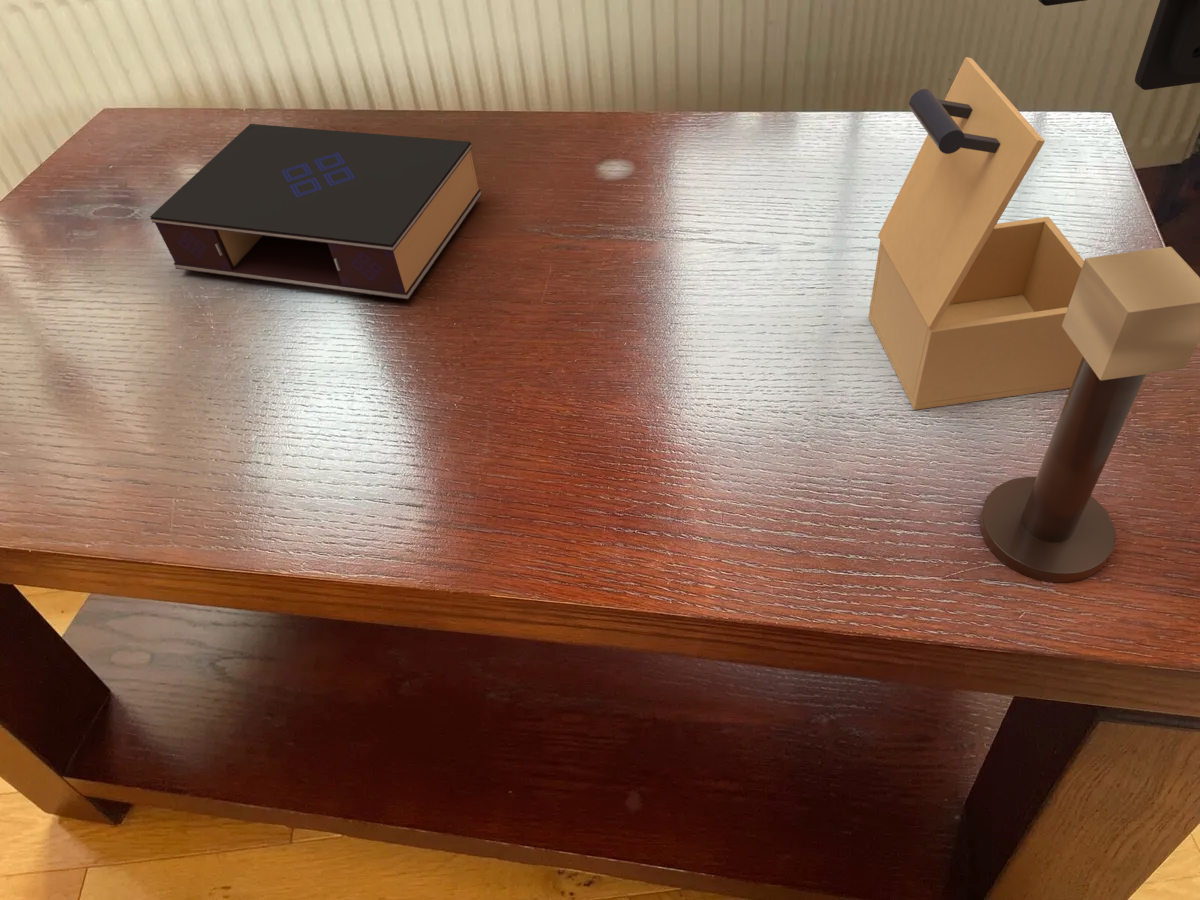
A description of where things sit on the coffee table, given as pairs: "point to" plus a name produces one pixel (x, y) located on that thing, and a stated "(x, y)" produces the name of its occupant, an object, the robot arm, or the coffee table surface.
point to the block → (1135, 313)
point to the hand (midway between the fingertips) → (1115, 38)
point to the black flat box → (322, 209)
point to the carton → (986, 321)
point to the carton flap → (956, 186)
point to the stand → (1063, 489)
